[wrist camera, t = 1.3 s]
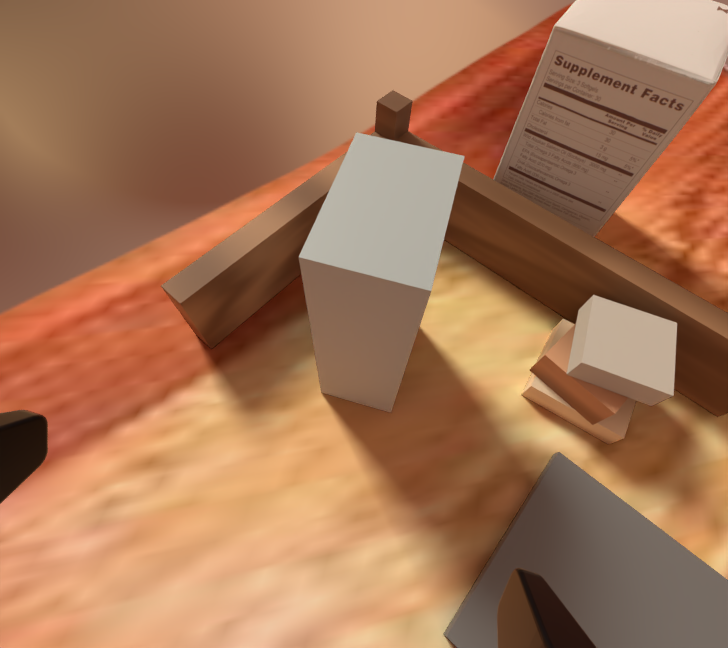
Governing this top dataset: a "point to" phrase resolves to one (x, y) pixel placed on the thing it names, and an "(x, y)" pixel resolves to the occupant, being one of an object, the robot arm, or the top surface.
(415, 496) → the top surface
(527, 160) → the supplement box
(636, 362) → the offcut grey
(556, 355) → the offcut cherry
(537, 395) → the offcut birch
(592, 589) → the mat
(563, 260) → the frame
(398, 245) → the block
